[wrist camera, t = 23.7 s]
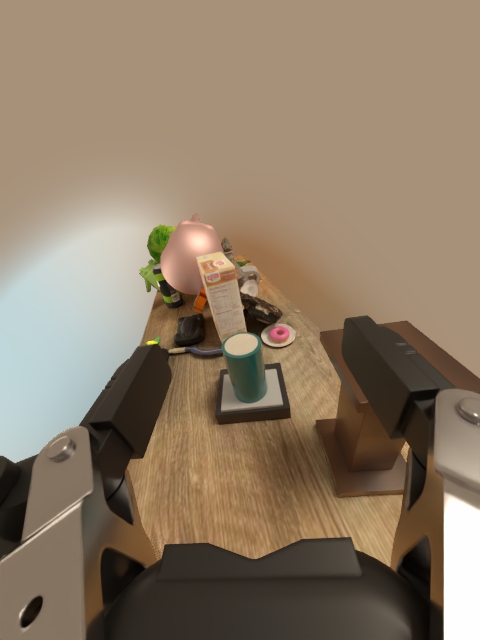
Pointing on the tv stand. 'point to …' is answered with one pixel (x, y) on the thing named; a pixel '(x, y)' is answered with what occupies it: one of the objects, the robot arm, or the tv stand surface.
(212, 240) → the head sculpture
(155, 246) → the lettuce
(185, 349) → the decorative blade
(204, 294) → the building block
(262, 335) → the donut
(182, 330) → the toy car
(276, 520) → the tv stand surface
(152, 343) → the lemon
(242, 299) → the fossil rock
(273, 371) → the scale
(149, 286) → the green plant
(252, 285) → the seashell
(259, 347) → the cup
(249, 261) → the green leaf
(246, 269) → the sloped support bracket
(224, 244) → the decorative bottle
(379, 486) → the stand
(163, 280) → the beverage can
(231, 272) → the coffeecake box
